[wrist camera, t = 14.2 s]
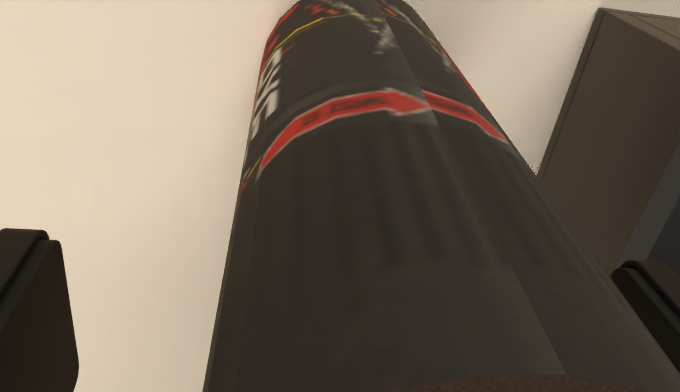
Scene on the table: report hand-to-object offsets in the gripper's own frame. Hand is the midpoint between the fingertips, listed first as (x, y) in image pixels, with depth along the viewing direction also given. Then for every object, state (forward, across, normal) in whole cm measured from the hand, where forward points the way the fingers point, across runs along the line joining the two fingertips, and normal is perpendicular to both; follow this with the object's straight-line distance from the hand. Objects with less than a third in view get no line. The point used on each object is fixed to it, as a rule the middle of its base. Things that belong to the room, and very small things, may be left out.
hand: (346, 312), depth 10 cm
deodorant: (+11, -1, -1) cm, 11 cm away
